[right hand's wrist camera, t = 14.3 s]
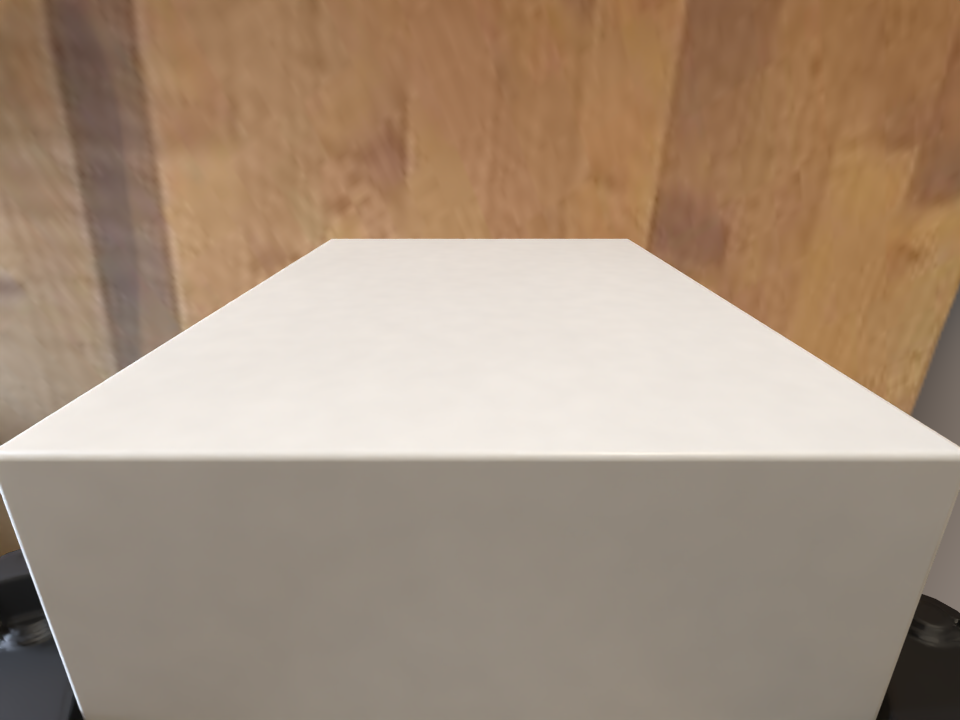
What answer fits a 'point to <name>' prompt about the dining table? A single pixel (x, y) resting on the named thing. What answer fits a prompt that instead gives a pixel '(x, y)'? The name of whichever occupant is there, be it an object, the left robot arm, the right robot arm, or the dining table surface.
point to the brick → (479, 502)
